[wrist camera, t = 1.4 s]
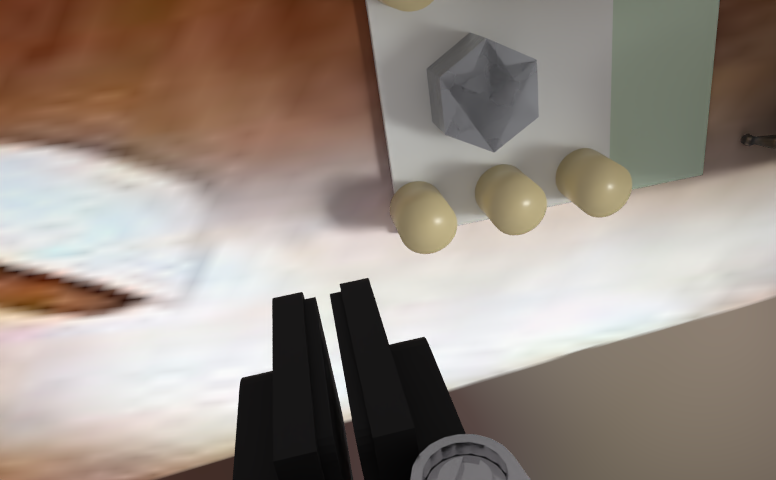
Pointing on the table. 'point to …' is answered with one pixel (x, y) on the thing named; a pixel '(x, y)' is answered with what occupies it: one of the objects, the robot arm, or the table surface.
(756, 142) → the alarm clock
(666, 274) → the table surface
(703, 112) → the spacer board
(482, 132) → the grey faceted block
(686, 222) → the table surface
